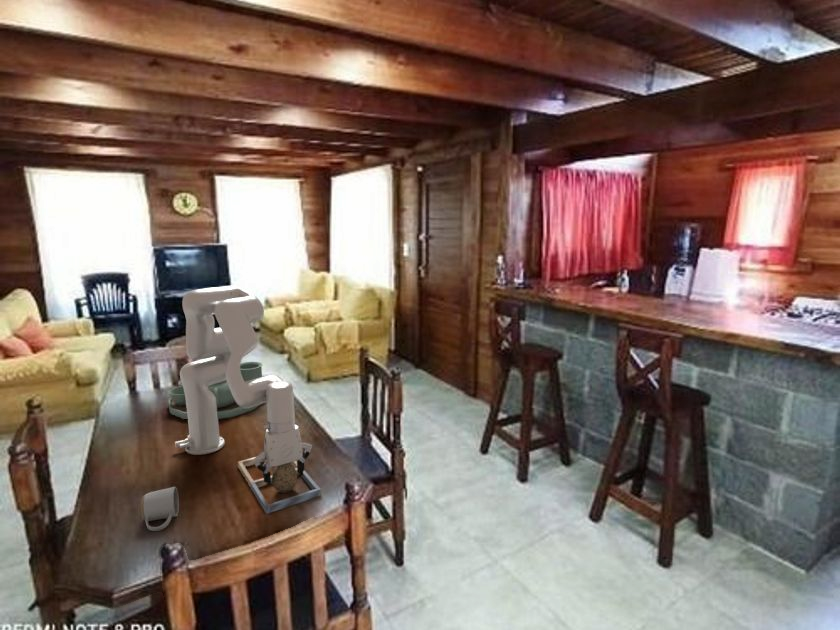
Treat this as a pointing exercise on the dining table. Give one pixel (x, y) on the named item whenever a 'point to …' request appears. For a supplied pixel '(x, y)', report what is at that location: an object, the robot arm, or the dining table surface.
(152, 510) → the ceramic mug
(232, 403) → the tea set
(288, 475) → the decorative egg
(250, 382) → the robot arm
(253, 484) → the frame
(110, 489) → the dining table surface
